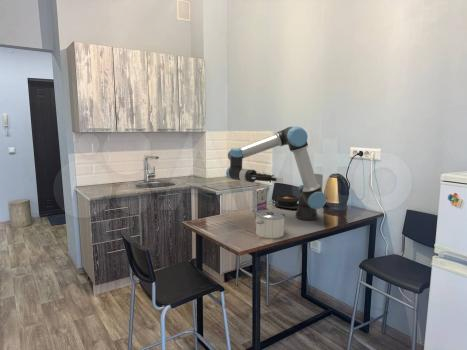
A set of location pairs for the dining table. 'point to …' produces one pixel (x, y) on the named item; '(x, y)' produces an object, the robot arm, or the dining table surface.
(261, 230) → the stockpot
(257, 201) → the candy bar box
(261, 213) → the lid
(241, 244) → the dining table surface
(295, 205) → the casserole
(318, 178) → the cylinder vase
